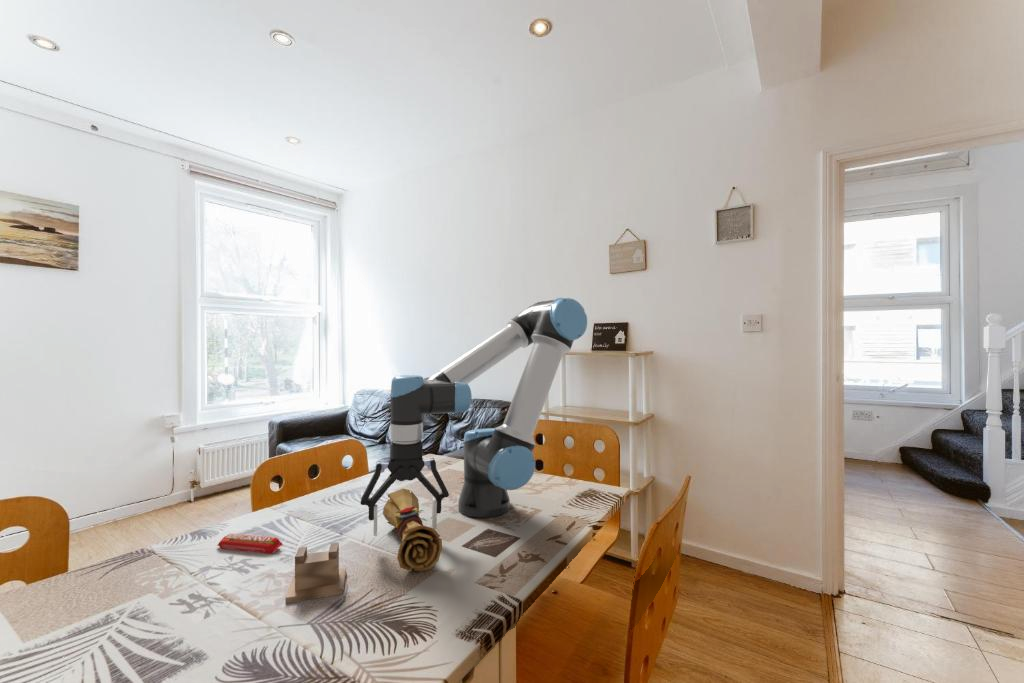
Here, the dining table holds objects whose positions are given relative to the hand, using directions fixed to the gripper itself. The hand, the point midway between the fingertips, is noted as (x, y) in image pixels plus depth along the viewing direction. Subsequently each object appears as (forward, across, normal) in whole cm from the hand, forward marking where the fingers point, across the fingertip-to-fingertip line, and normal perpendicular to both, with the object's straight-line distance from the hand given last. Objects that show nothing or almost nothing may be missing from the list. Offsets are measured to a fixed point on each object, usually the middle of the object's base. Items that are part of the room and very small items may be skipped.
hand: (405, 530), depth 102 cm
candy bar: (+5, +35, -10) cm, 37 cm away
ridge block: (+4, +18, +12) cm, 22 cm away
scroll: (+4, -1, 0) cm, 5 cm away
